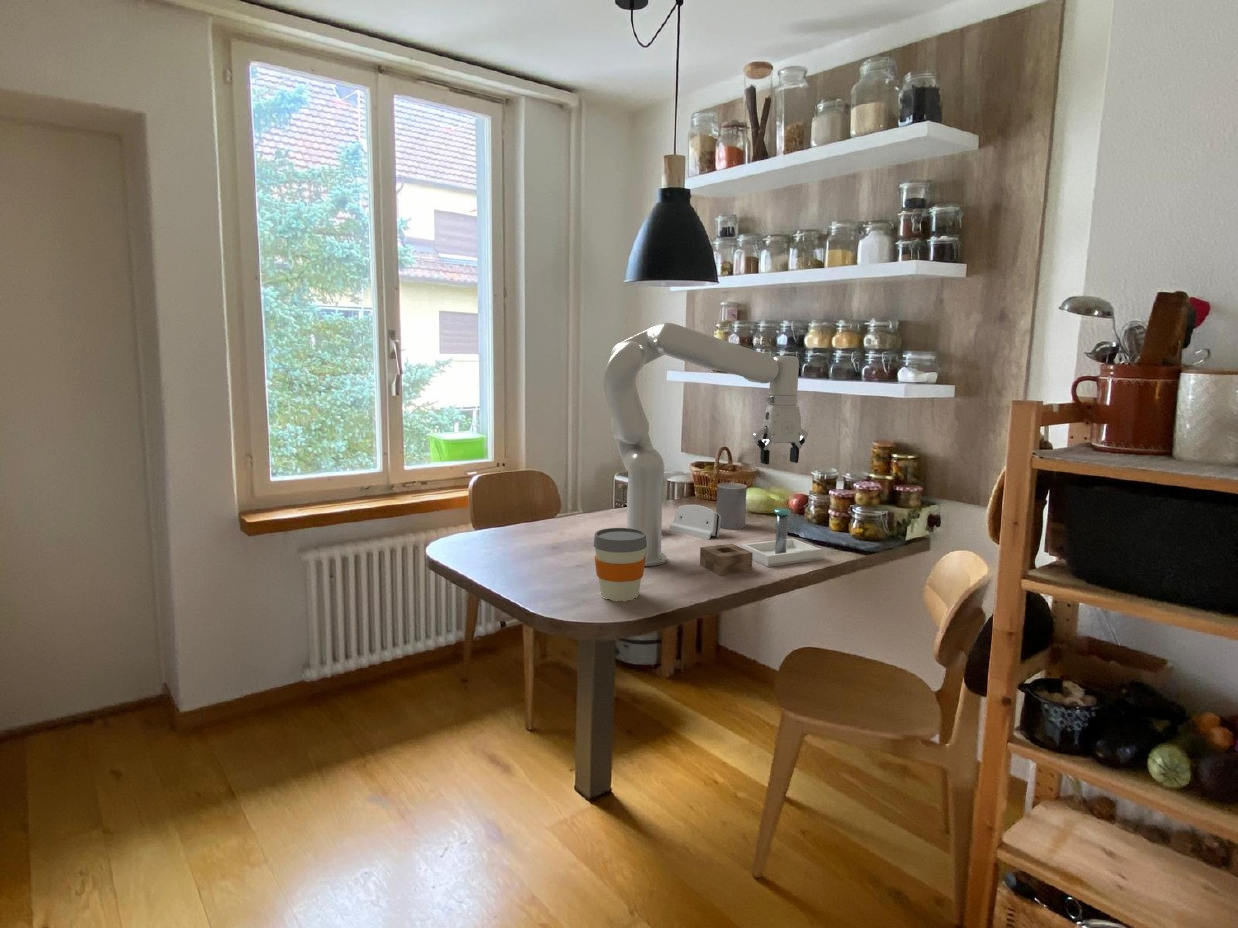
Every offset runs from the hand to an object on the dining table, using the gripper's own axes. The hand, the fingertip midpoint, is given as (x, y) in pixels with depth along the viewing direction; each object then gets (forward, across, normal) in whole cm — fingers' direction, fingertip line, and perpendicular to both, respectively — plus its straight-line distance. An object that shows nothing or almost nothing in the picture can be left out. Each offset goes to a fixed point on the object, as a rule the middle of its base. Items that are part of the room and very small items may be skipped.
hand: (779, 462), depth 207 cm
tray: (+27, +1, -2) cm, 27 cm away
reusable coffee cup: (+28, -54, -14) cm, 62 cm away
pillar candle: (+27, +8, +36) cm, 45 cm away
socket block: (+27, -19, -5) cm, 33 cm away
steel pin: (+26, +1, -2) cm, 26 cm away
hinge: (+27, -8, +32) cm, 43 cm away
